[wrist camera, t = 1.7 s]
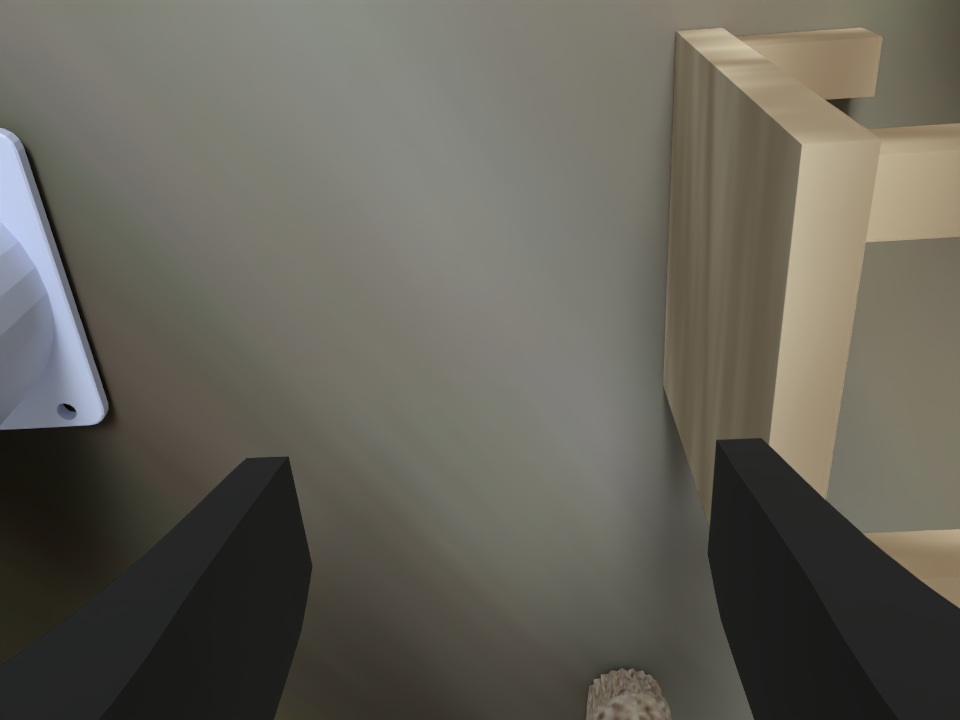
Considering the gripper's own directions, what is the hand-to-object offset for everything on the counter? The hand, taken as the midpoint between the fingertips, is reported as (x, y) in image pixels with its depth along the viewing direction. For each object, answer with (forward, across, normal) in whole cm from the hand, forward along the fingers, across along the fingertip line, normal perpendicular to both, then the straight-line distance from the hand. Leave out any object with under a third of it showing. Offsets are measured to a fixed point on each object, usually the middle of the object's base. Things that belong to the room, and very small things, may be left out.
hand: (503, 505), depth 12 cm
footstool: (+10, -6, 0) cm, 12 cm away
